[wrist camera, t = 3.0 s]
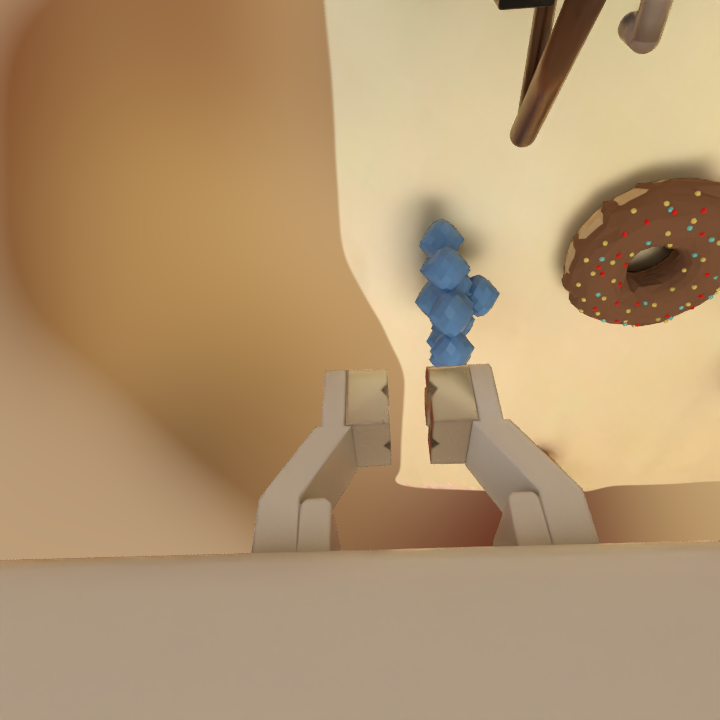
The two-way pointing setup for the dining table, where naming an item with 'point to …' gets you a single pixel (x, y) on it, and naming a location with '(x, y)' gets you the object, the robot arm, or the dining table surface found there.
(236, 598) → the robot arm
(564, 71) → the hanger
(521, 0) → the rail
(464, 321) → the grapes
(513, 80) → the dining table surface
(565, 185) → the dining table surface
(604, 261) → the donut
